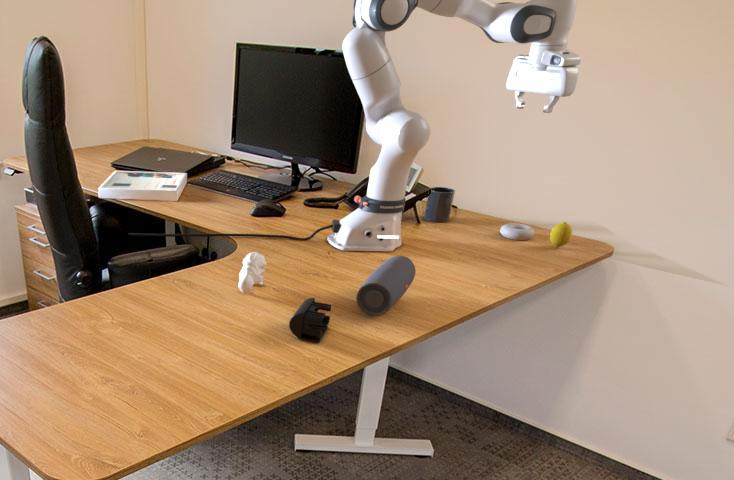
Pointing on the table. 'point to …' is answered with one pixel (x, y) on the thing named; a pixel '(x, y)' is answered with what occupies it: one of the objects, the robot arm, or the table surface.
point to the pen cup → (439, 204)
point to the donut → (517, 231)
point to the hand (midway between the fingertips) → (533, 110)
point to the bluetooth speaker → (386, 285)
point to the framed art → (143, 185)
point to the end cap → (310, 321)
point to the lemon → (560, 234)
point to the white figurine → (252, 271)
